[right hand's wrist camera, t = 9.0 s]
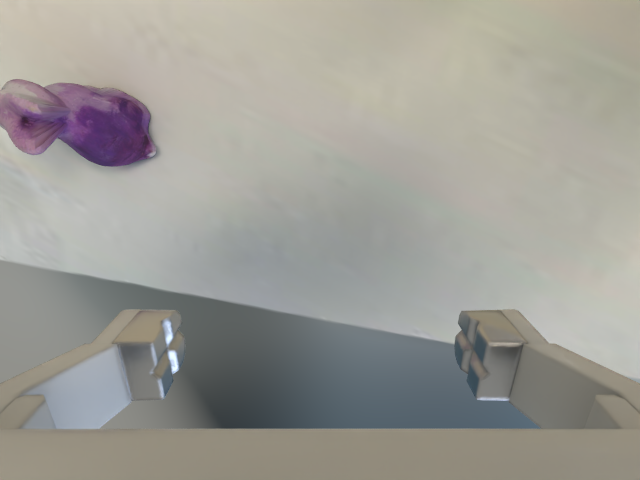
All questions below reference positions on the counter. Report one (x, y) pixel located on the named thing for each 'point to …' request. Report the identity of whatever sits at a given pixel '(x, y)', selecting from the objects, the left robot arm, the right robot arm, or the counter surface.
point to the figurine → (76, 121)
